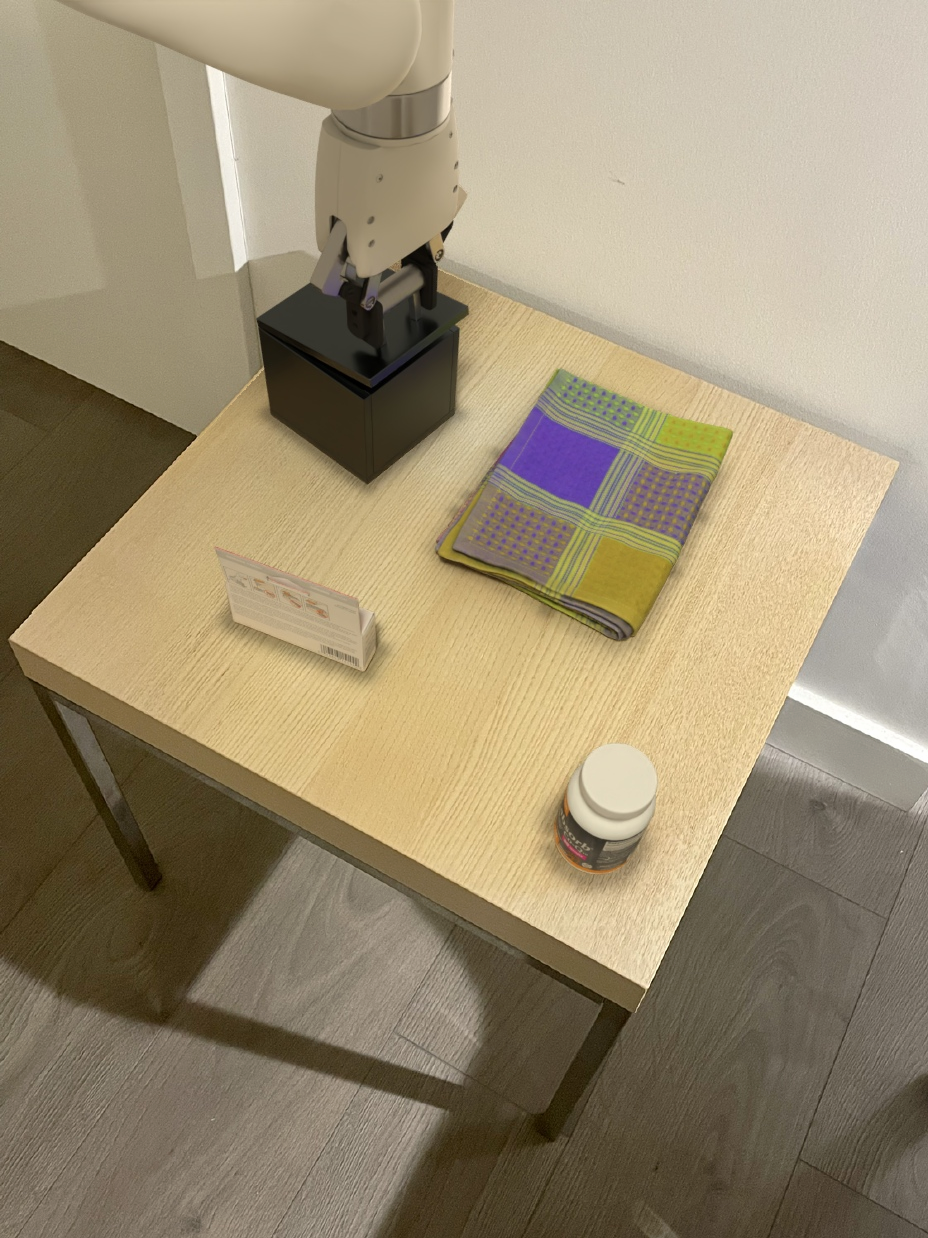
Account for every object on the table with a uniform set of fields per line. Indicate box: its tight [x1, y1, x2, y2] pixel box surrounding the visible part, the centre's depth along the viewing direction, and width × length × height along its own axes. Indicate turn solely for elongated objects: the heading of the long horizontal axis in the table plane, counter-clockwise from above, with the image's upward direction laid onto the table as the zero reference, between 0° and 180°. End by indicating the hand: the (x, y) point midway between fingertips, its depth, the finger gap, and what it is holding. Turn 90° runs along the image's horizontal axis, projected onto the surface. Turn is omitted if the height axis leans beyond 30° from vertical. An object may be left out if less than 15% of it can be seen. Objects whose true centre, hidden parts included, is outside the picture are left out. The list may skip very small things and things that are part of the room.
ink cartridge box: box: [213, 546, 377, 673], centre depth 77 cm, size 2×11×10 cm, turn 67°
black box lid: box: [255, 263, 470, 388], centre depth 82 cm, size 12×11×5 cm
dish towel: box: [434, 367, 734, 641], centre depth 88 cm, size 18×24×3 cm
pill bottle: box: [553, 742, 659, 876], centre depth 69 cm, size 6×6×10 cm
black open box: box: [257, 324, 461, 485], centre depth 89 cm, size 12×11×10 cm
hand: (392, 316), depth 81 cm, fingers closed on black box lid, 5 cm apart
